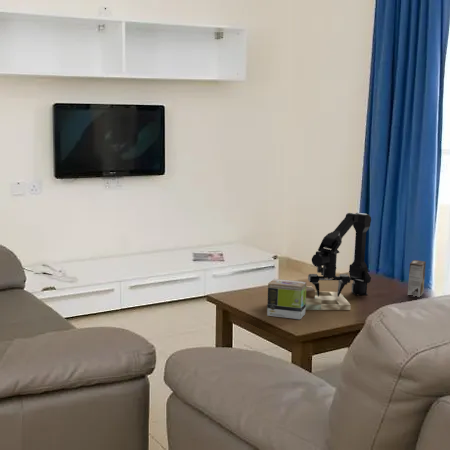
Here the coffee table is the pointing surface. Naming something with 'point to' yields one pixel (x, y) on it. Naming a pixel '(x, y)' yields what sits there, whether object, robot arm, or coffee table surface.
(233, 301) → the coffee table surface
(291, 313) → the tea box
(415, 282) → the coffee box
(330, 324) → the coffee table surface
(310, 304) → the board
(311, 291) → the walnut block
